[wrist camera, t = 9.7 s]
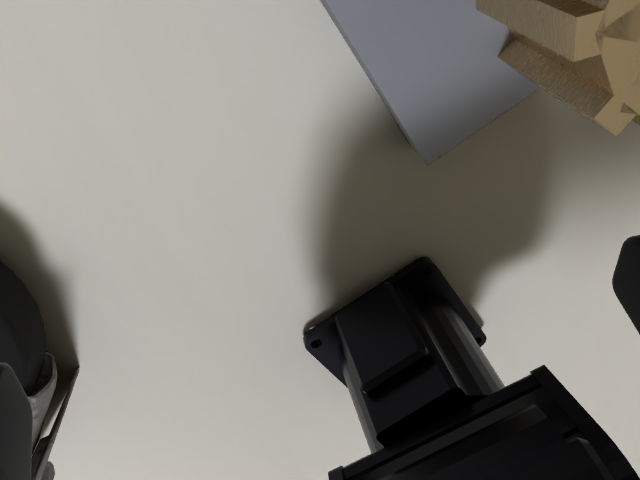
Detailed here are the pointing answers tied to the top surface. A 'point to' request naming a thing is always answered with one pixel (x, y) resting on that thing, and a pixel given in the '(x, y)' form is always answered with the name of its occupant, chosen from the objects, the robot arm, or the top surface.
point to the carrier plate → (432, 66)
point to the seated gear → (577, 53)
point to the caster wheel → (30, 364)
